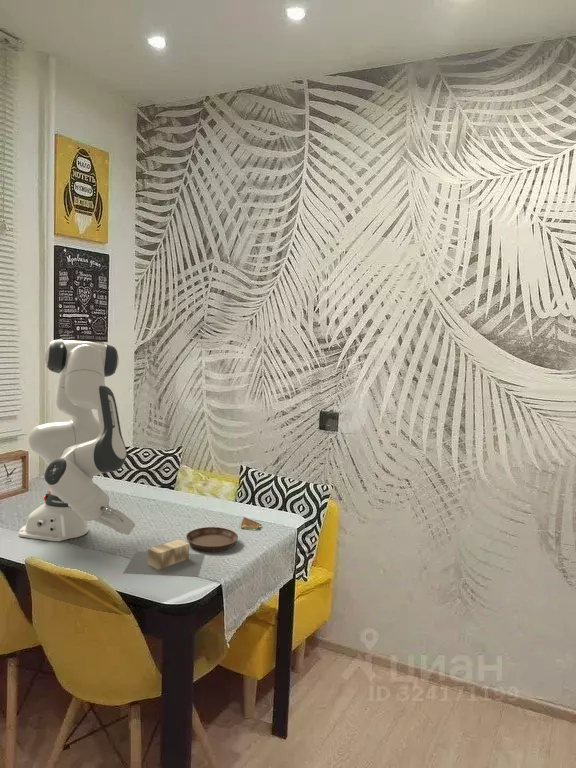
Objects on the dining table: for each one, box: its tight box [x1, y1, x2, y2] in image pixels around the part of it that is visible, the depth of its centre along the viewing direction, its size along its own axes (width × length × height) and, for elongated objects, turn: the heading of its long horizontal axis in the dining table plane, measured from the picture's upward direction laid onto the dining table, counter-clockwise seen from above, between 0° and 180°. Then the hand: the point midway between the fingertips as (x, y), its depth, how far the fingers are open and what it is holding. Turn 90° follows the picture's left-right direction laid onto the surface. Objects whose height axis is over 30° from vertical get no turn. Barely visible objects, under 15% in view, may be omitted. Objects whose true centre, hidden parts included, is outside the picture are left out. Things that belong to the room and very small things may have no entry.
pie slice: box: [240, 516, 263, 530], centre depth 228 cm, size 11×8×2 cm
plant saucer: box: [185, 526, 239, 552], centre depth 207 cm, size 18×18×3 cm
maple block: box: [147, 539, 190, 569], centre depth 187 cm, size 5×5×12 cm
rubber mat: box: [122, 550, 206, 578], centre depth 185 cm, size 22×17×1 cm
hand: (121, 530), depth 172 cm, fingers closed
